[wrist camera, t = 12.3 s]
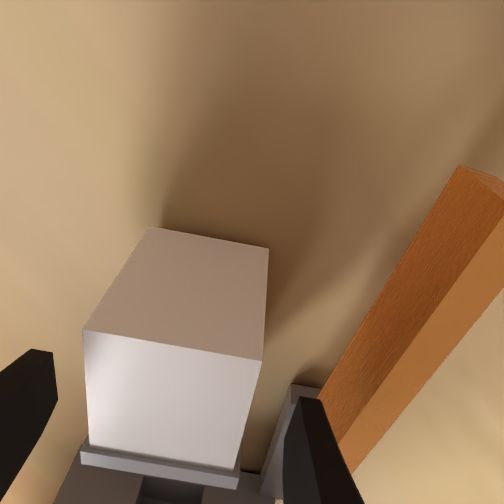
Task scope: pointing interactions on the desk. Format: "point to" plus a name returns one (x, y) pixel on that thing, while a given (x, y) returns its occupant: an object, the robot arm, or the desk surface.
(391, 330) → the orange long bar
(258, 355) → the plug
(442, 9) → the desk surface
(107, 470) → the socket block
